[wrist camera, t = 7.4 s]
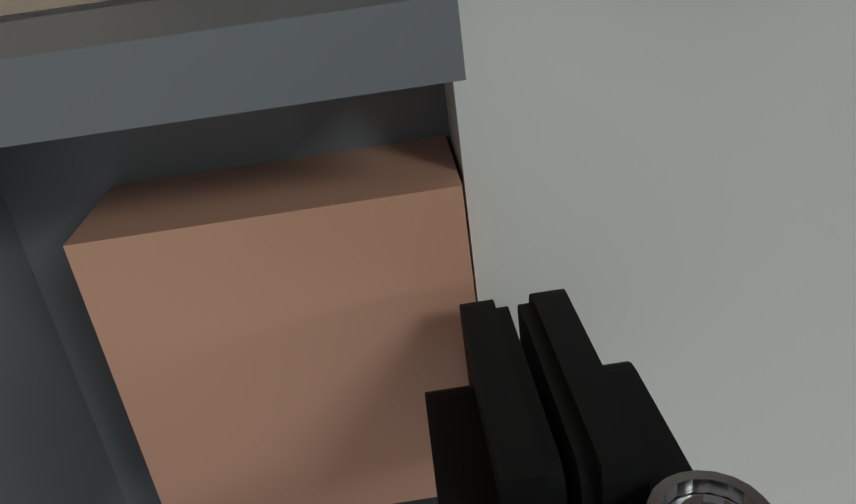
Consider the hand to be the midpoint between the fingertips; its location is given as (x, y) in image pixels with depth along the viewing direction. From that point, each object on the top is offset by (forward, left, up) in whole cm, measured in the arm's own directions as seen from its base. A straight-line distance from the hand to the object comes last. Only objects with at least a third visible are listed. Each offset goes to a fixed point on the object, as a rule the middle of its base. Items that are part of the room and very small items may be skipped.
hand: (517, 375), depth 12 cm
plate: (0, +6, -4) cm, 7 cm away
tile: (0, -3, -3) cm, 5 cm away
